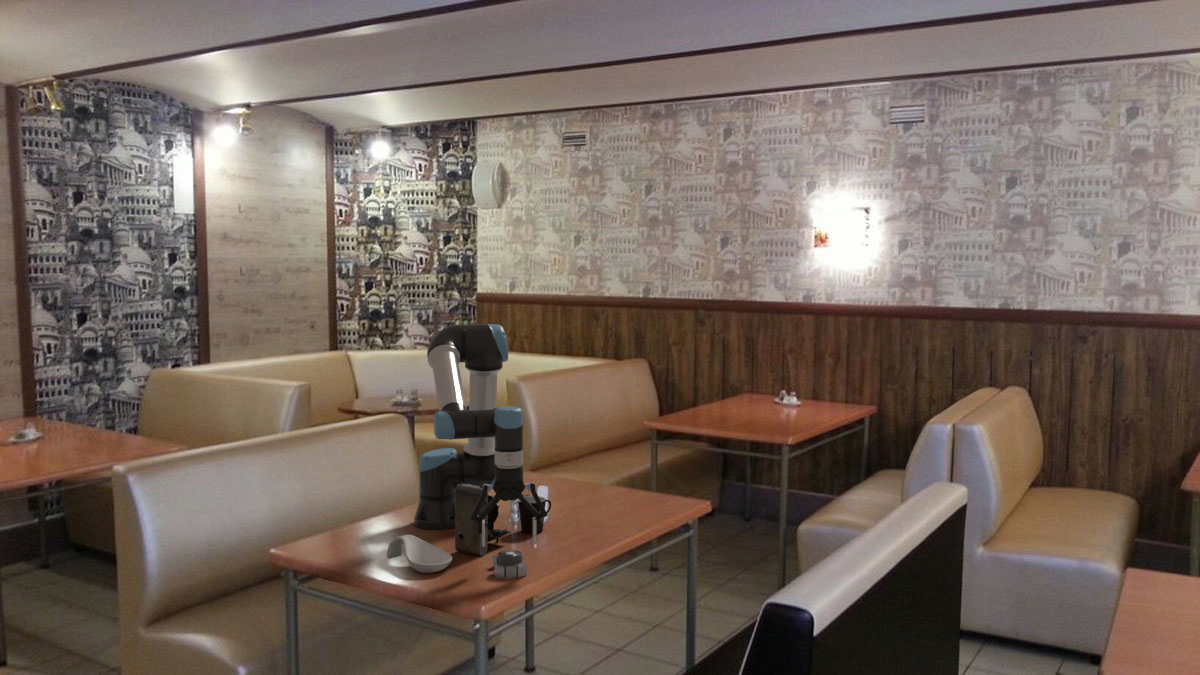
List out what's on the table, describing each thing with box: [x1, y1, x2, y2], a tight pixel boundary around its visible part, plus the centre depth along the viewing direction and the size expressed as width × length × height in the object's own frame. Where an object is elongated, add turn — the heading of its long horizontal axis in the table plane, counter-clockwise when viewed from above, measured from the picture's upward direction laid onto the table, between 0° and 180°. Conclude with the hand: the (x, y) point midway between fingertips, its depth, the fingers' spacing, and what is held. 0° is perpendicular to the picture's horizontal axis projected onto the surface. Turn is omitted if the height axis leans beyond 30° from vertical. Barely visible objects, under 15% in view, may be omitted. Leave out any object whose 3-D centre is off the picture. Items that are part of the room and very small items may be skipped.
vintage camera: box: [454, 483, 512, 557], centre depth 262 cm, size 10×16×20 cm, turn 150°
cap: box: [497, 549, 523, 565], centre depth 241 cm, size 6×6×5 cm
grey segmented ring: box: [492, 553, 528, 579], centre depth 242 cm, size 12×8×3 cm
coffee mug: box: [517, 495, 552, 535], centre depth 280 cm, size 12×9×10 cm
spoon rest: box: [386, 534, 453, 574], centre depth 247 cm, size 24×12×7 cm, turn 46°
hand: (509, 544), depth 242 cm, fingers open, 13 cm apart
